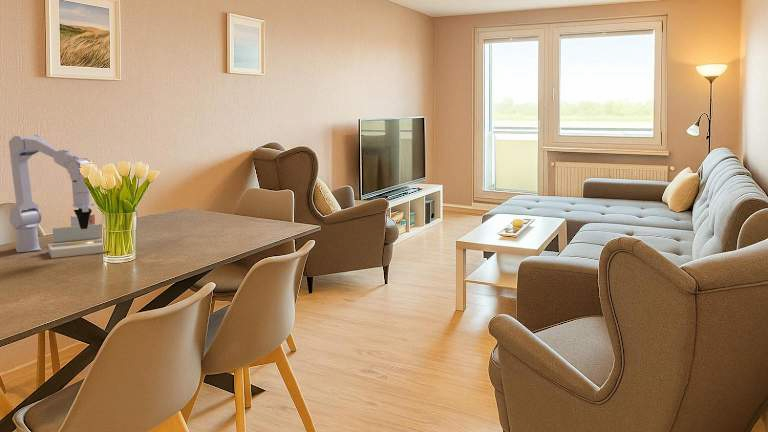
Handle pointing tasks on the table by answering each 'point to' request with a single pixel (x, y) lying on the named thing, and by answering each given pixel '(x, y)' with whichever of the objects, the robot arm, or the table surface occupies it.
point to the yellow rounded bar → (80, 243)
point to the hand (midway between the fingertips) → (83, 228)
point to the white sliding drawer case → (75, 249)
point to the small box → (75, 222)
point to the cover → (75, 234)
